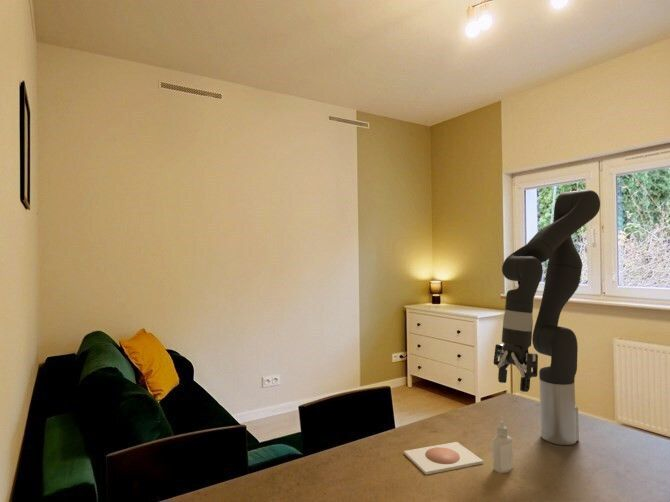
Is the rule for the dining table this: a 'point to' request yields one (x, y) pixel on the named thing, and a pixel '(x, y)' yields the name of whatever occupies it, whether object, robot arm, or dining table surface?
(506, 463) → the eye dropper bottle
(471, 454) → the card
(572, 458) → the dining table surface
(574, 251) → the robot arm
